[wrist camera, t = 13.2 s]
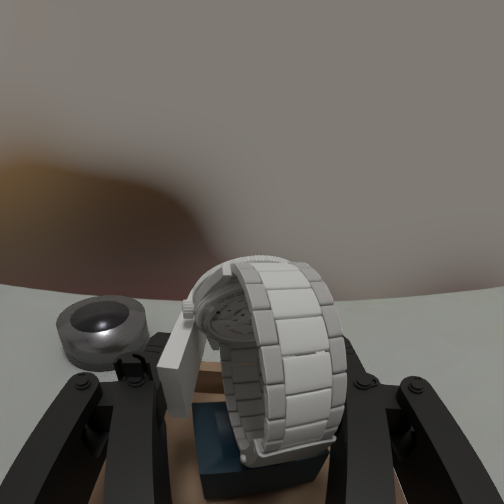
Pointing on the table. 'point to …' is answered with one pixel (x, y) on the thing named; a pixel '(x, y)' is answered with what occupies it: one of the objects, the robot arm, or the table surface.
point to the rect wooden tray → (186, 464)
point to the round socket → (102, 331)
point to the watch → (267, 375)
